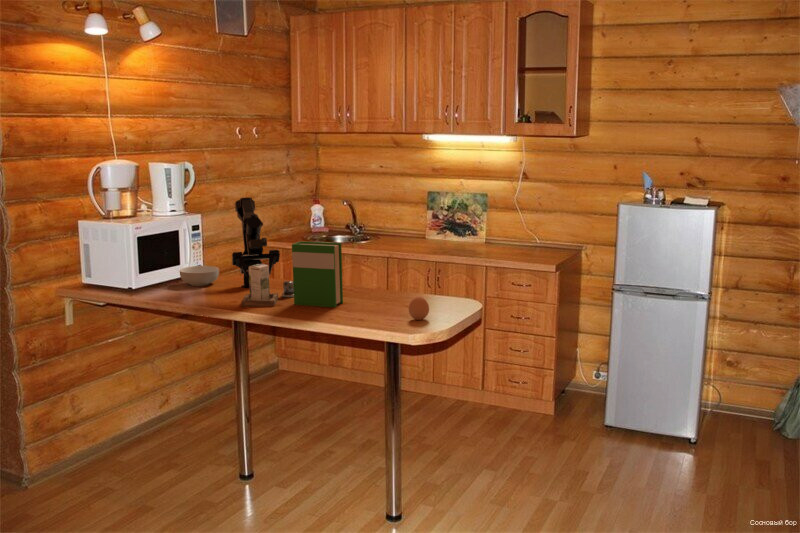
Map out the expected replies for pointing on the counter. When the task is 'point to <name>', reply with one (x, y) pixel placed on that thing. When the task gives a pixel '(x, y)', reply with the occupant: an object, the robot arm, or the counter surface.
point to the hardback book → (317, 273)
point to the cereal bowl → (199, 275)
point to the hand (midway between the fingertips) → (258, 274)
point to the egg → (418, 308)
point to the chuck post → (288, 289)
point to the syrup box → (259, 282)
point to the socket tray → (259, 301)
